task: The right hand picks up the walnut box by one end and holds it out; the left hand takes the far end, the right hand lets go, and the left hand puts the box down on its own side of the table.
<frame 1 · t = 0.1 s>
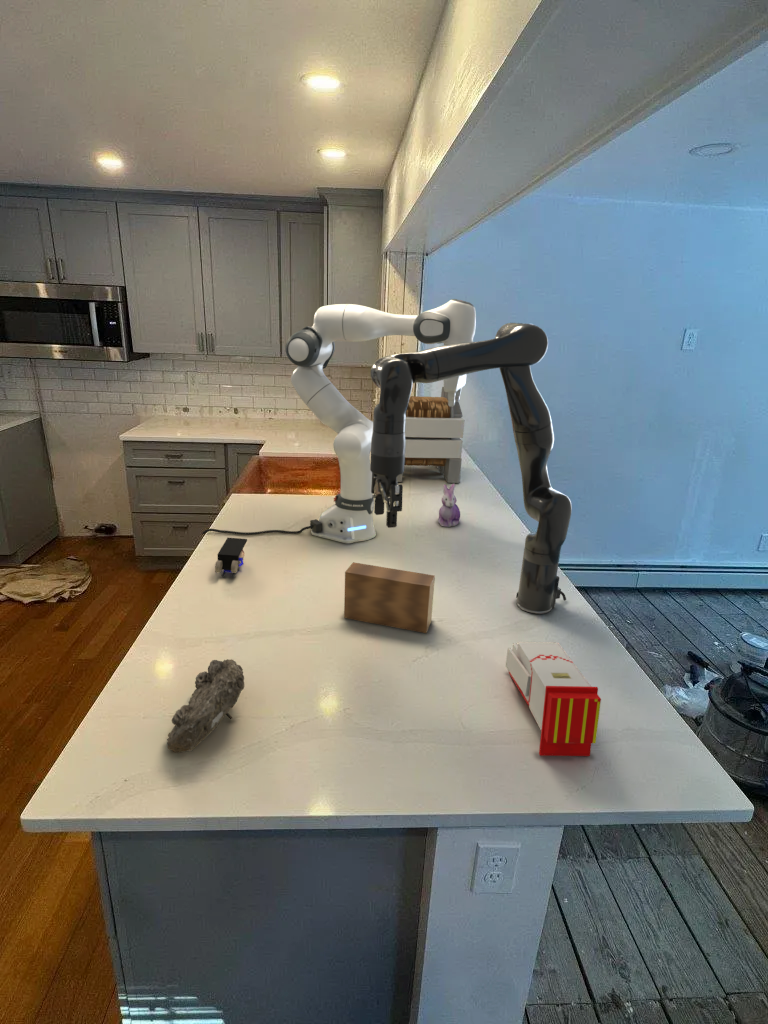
left hand: (453, 403, 174), 48 cm above the counter, tool pointing down, fingers open, 8 cm apart
right hand: (384, 520, 130), 29 cm above the counter, tool pointing down, fingers open, 8 cm apart
fossil: (212, 717, 108), on the counter
toy: (542, 706, 115), on the counter
figurine: (448, 523, 212), on the counter
box: (387, 619, 145), on the counter
figurine character: (232, 569, 168), on the counter
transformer: (419, 473, 275), on the counter
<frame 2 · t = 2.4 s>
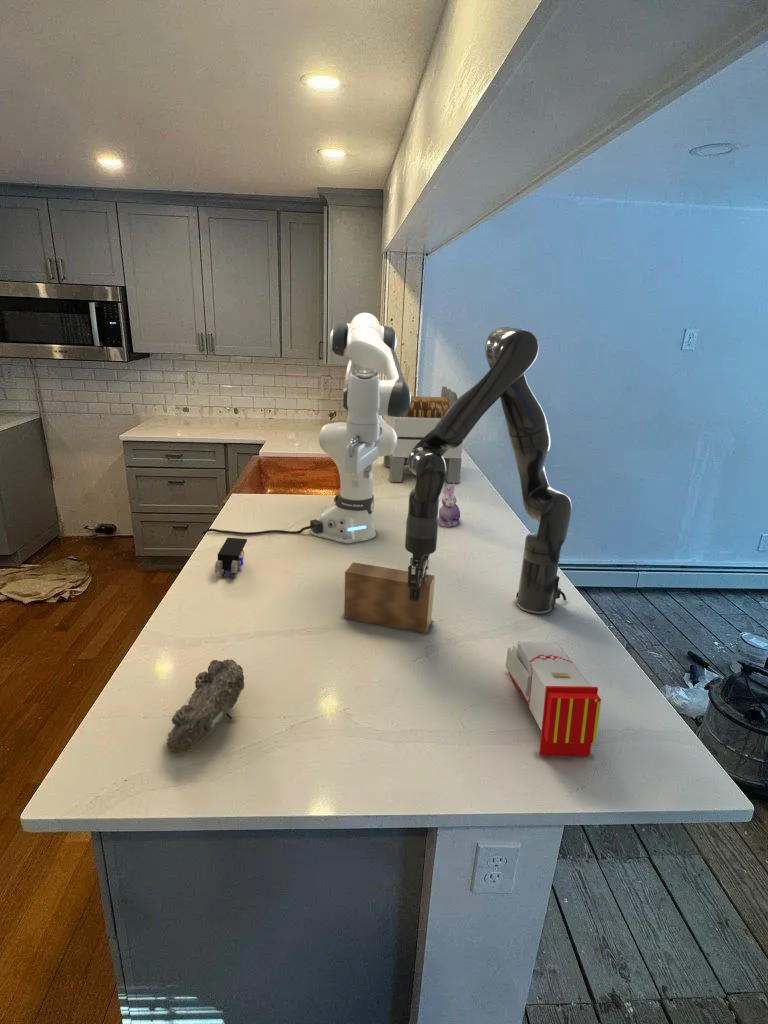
left hand: (361, 482, 156), 29 cm above the counter, tool pointing down, fingers open, 8 cm apart
right hand: (417, 593, 140), 9 cm above the counter, tool pointing down, fingers closed on box, 6 cm apart
box: (387, 619, 145), on the counter, touching right hand
everything else where it was.
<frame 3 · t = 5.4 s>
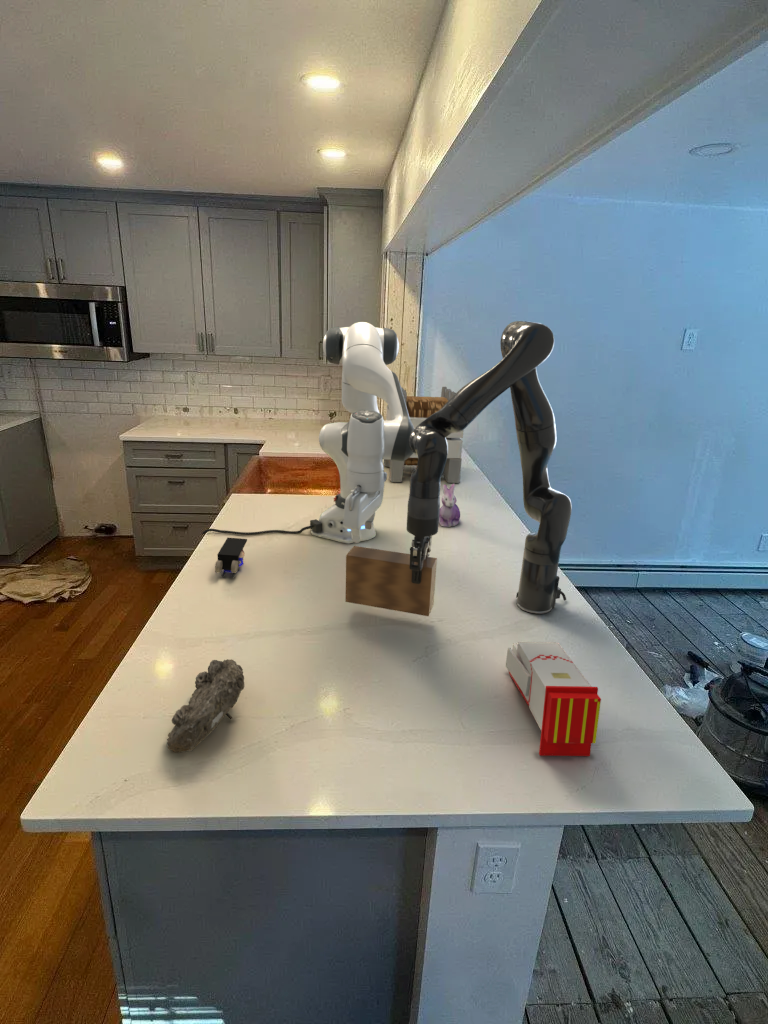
left hand: (363, 534, 139), 22 cm above the counter, tool pointing down, fingers open, 8 cm apart
right hand: (419, 576, 138), 13 cm above the counter, tool pointing down, fingers closed on box, 6 cm apart
box: (389, 603, 143), point 5 cm above the counter, touching right hand
everything else where it was.
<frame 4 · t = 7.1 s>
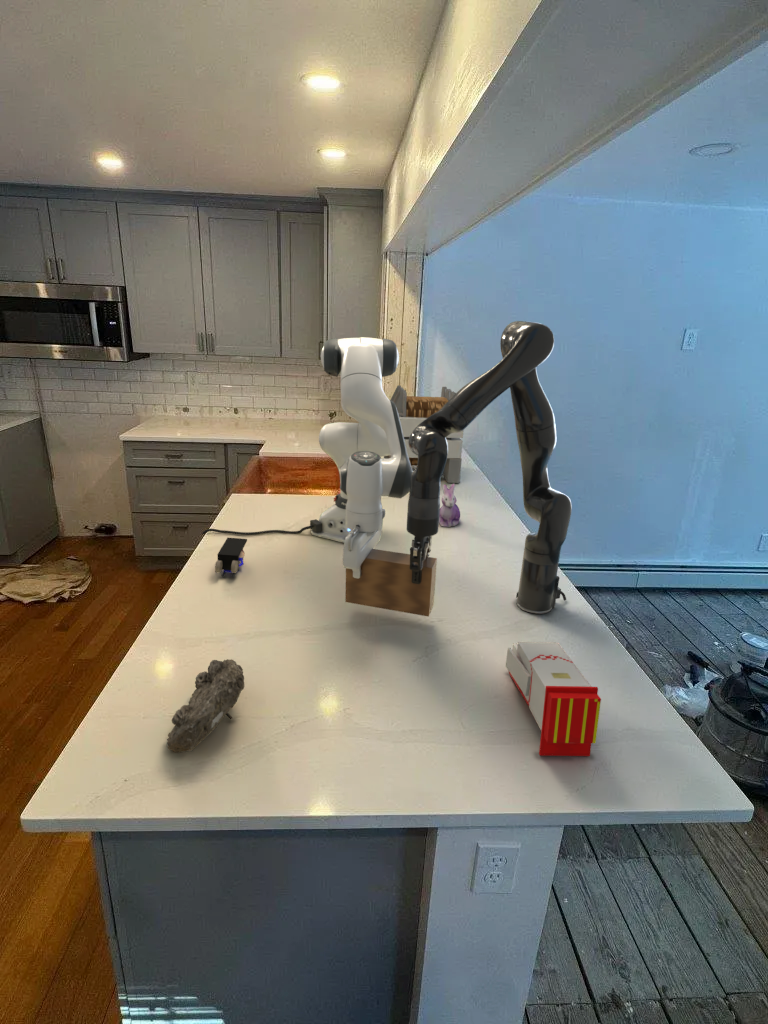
left hand: (362, 570, 142), 13 cm above the counter, tool pointing down, fingers closed on box, 6 cm apart
right hand: (419, 577, 138), 13 cm above the counter, tool pointing down, fingers closed on box, 6 cm apart
box: (389, 603, 143), point 5 cm above the counter, touching left hand, right hand
everything else where it was.
when the right hand's fingers open (13 cm above the counter, at t = 8.3 s): box moves 2 cm, held by the left hand.
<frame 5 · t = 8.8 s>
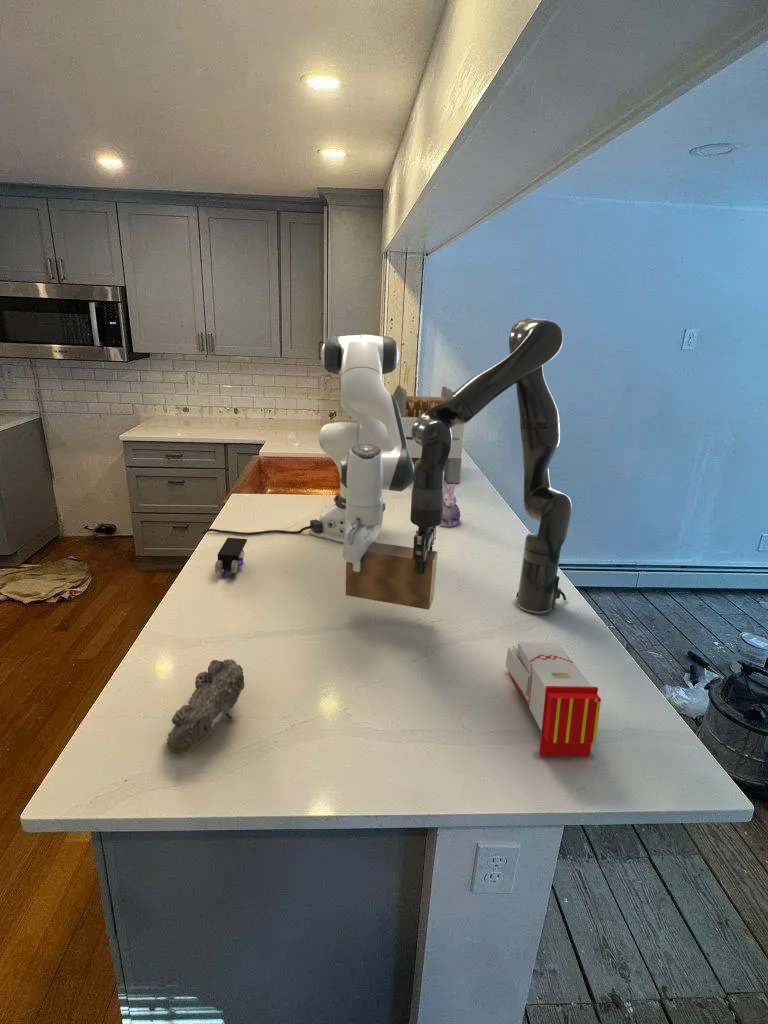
left hand: (362, 564, 142), 14 cm above the counter, tool pointing down, fingers closed on box, 6 cm apart
right hand: (423, 566, 137), 16 cm above the counter, tool pointing down, fingers open, 8 cm apart
box: (389, 596, 143), point 6 cm above the counter, touching left hand
everything else where it was.
when the left hand's fingers open (9 cm above the counter, at t = 12.8 s): box stays where it is, on the counter.
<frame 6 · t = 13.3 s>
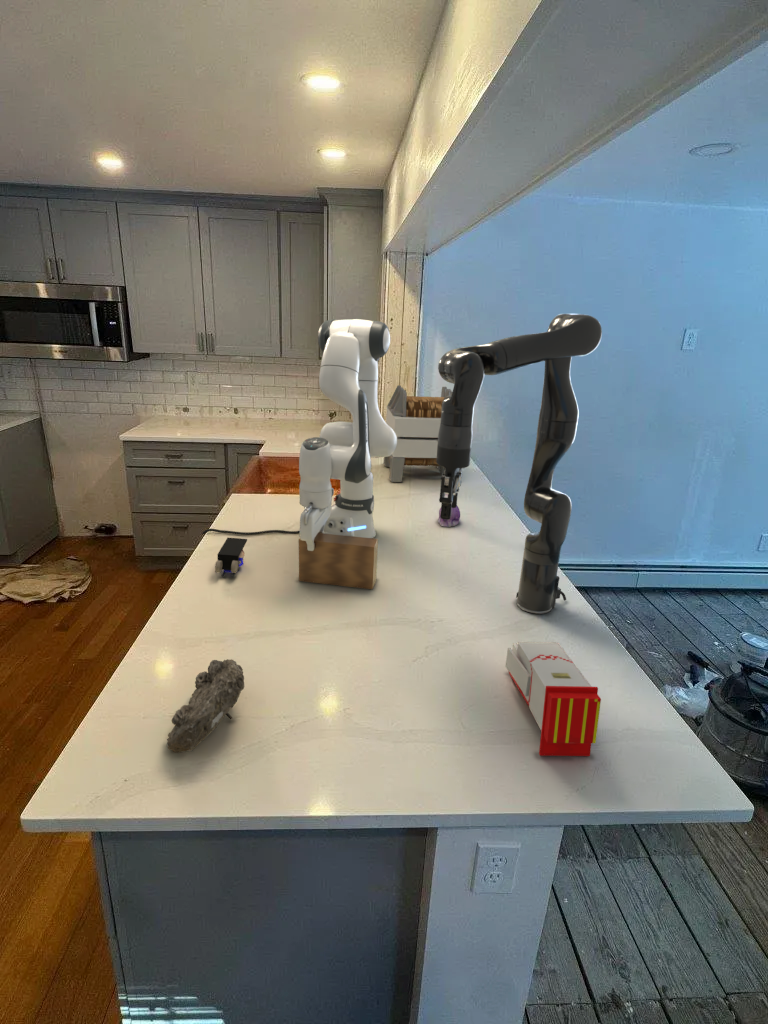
left hand: (315, 542, 162), 11 cm above the counter, tool pointing down, fingers open, 8 cm apart
right hand: (448, 512, 131), 31 cm above the counter, tool pointing down, fingers open, 8 cm apart
box: (337, 580, 164), on the counter
everything else where it was.
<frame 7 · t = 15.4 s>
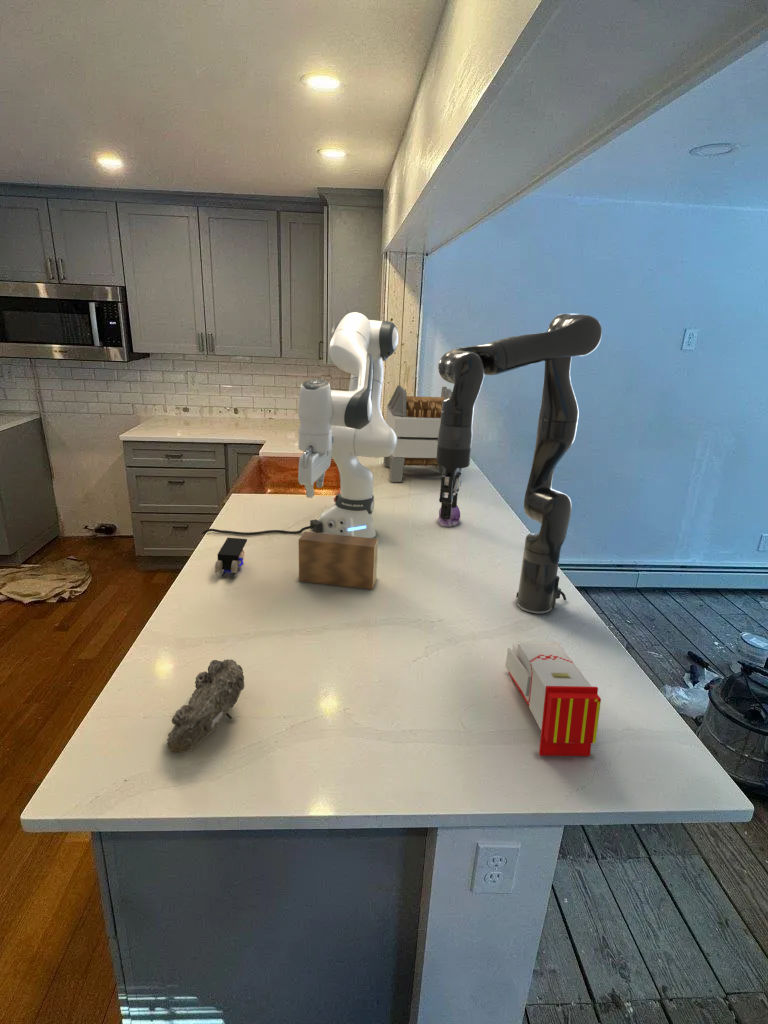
left hand: (315, 491, 156), 26 cm above the counter, tool pointing down, fingers open, 8 cm apart
right hand: (448, 512, 131), 31 cm above the counter, tool pointing down, fingers open, 8 cm apart
nothing on the counter moved.
at the end: box inside the target area (6.8 cm from its centre), on the counter; the left hand is holding nothing; the right hand is holding nothing; box at rest at the end (0.0 cm/s) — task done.
